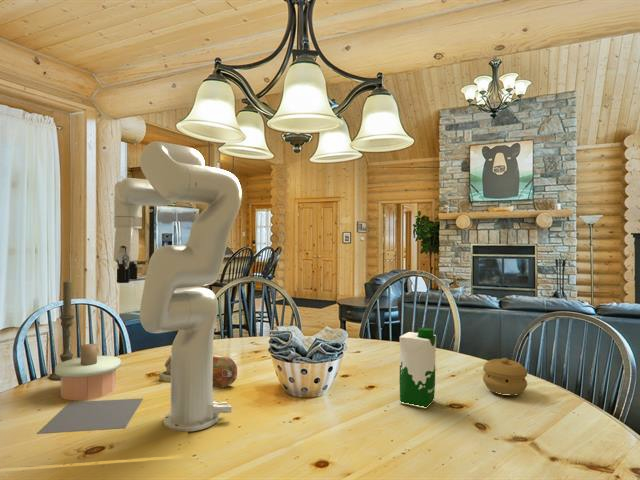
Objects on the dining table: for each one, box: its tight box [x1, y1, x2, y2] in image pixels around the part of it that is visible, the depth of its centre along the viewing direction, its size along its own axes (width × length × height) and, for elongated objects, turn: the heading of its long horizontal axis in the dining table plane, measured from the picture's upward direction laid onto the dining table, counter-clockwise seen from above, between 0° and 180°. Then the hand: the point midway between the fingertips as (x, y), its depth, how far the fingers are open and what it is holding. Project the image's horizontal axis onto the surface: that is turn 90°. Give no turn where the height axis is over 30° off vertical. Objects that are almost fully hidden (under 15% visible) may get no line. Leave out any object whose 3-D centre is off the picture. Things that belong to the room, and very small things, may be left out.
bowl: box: [60, 369, 117, 401], centre depth 118 cm, size 13×13×7 cm
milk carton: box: [399, 326, 437, 407], centre depth 115 cm, size 9×9×20 cm
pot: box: [482, 357, 528, 395], centre depth 123 cm, size 12×12×10 cm
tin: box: [213, 354, 238, 388], centre depth 127 cm, size 15×3×8 cm, turn 62°
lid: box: [54, 343, 122, 377], centre depth 118 cm, size 16×16×6 cm
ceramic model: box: [158, 355, 171, 383], centre depth 133 cm, size 14×11×10 cm
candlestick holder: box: [48, 279, 75, 381], centre depth 133 cm, size 9×9×30 cm
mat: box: [36, 397, 144, 435], centre depth 103 cm, size 18×18×1 cm
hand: (127, 281), depth 127 cm, fingers open, 9 cm apart
